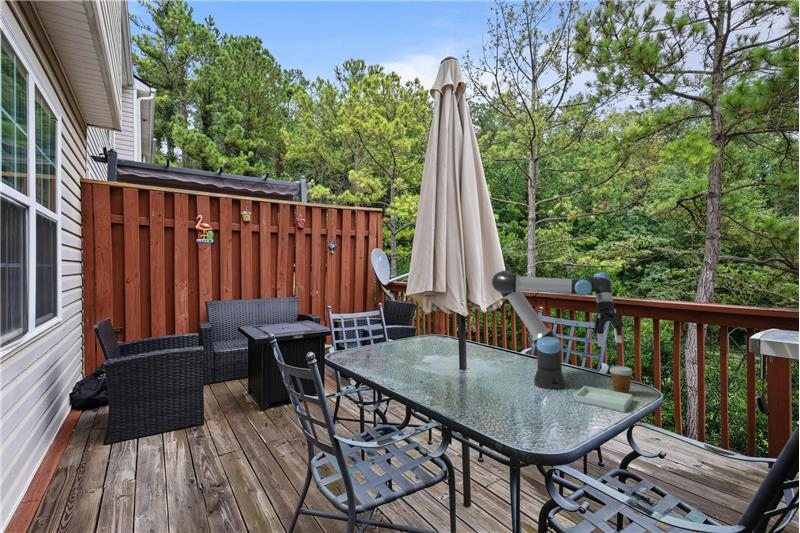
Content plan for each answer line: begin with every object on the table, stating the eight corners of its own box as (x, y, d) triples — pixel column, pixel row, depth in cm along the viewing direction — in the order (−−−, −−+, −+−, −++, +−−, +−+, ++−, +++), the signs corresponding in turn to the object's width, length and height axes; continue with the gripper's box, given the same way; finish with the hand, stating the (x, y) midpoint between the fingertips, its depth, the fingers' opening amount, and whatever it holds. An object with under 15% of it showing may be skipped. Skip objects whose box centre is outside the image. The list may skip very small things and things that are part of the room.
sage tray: (573, 401, 174) (573, 395, 174) (584, 392, 186) (584, 385, 186) (624, 412, 161) (624, 405, 161) (632, 401, 173) (632, 394, 173)
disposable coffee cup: (621, 398, 177) (620, 372, 177) (605, 391, 186) (604, 366, 186) (637, 395, 180) (637, 370, 179) (621, 389, 189) (620, 364, 189)
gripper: (628, 296, 185) (634, 341, 178) (597, 309, 209) (601, 348, 201) (613, 295, 185) (619, 340, 177) (583, 307, 208) (587, 347, 201)
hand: (609, 344), depth 189 cm, fingers open, 13 cm apart
